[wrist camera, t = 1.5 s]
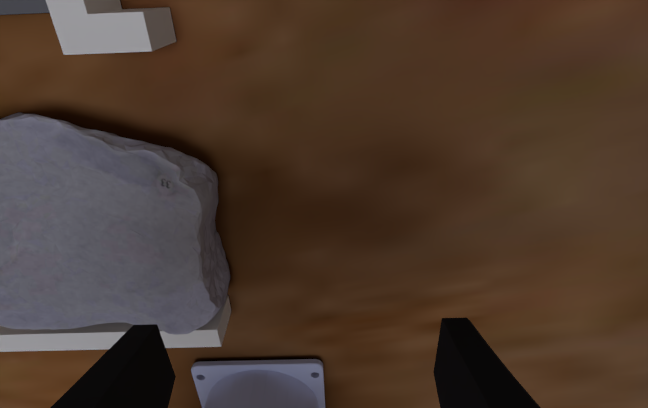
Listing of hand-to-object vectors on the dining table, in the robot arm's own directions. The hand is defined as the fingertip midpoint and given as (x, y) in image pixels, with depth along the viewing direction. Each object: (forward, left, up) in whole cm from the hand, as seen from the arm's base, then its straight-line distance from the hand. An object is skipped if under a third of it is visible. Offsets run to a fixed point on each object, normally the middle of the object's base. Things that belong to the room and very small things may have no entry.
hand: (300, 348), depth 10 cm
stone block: (-1, +10, -10) cm, 14 cm away
